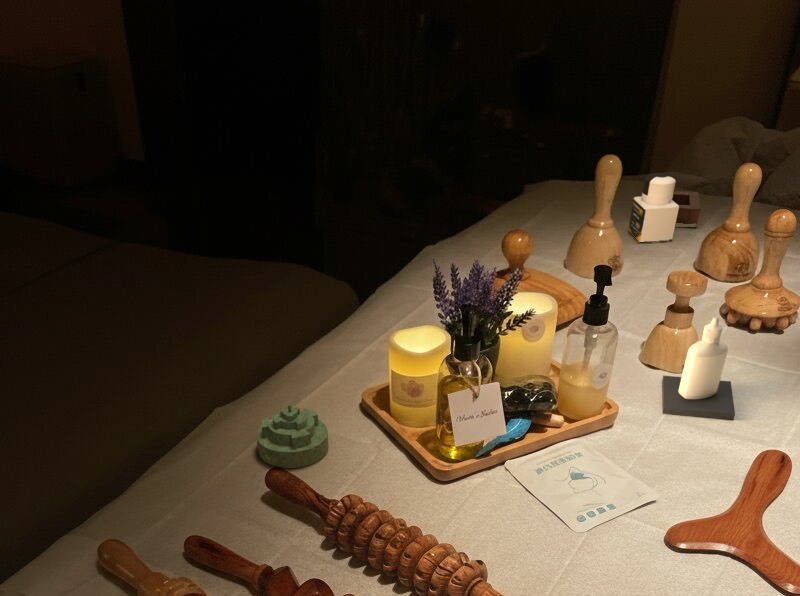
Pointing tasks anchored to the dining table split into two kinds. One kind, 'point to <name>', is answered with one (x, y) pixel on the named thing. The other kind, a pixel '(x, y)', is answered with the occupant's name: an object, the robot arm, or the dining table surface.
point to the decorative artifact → (292, 438)
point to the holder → (687, 206)
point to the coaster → (697, 401)
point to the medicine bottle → (654, 209)
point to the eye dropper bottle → (704, 364)
